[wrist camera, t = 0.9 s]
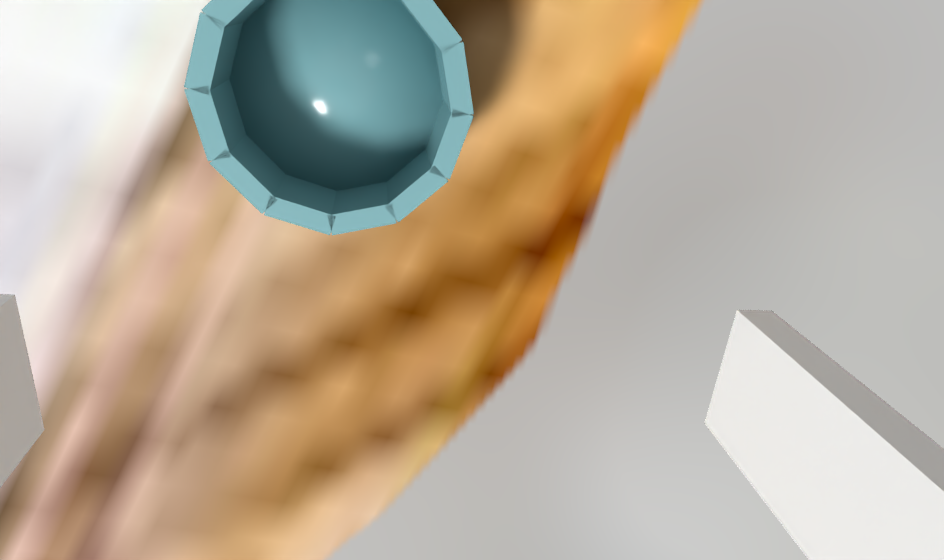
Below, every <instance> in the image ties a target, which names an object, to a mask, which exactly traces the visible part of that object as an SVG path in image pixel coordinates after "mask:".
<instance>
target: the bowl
mask: <svg viewBox="0 0 944 560" xmlns="http://www.w3.org/2000/svg"><path fill="white" fill-rule="evenodd" d="M202 11H203V12H200V15H199V20H198V25H197V29H196V34H195V39H194V43H193V48H192V53H191V57H190V62H189V67H188V71H187V76H186V81H185V85H184V87H186V88H187V89H185V93H186V96H187V99H188V102H189V105H190V108H191V111H192V114H193V117H194V120H195V123H196V126H197V129H198V132H199V135H200V138H201V141H202V144H203V147H204V150H205V153H206V156H207V159H208V161H211V162H210V164H211V165H212V166H213V167H214V168H215V169H216V170H217V171H218V172H219V173H220V174H221V175H222V176H223V177H224V178H225V179H226V180H227V181H228V182H229V183H231V184H232V185H233V186H234V187H235V188H236V189H237V190H238V191H239V192H240V193H241V194H242V195H243V196H244V197H245V198H246V199H247V200H248V201H249V202H250V203H251V204H252V205H253V206H254V207H256V208H257V209H258V210H259V211H260V212H261V213H263V212H265V214H264V215H266V216H269V217H272V218H276V219H279V220H282V221H285V222H289V223H292V224H295V225H298V226H302V227H305V228H308V229H312V230H315V231H318V232H321V233H325V234H328V235H330V233H331V232H332V235H336V234H342V233H347V232H352V231H358V230H363V229H368V228H374V227H379V226H384V225H390V224H395V223H396V220H397V221H398V222H399V221H401V220H402V219H403V218H404V217H405V216H407V215H408V214H409V213H410V212H412V211H413V210H414V209H415V208H416V207H418V206H419V205H420V204H421V203H422V202H424V201H425V200H426V199H427V198H428V197H430V196H431V195H432V194H433V193H435V192H436V191H437V190H438V189H439V188H441V187H442V186H443V185H444V184H445V183H447V182H448V179H450V177H451V174H452V172H453V169H454V166H455V164H456V161H457V159H458V156H459V153H460V151H461V148H462V145H463V143H464V140H465V138H466V135H467V132H468V130H469V127H470V124H471V122H472V119H473V115H472V114H474V112H473V105H472V98H471V91H470V84H469V77H468V70H467V63H466V56H465V50H464V43H463V42H462V41H461V40H462V38H461V37H460V36H459V34H458V33H457V32H456V30H455V29H454V28H453V26H452V25H451V24H450V22H449V21H448V20H447V18H446V17H445V16H444V14H443V13H442V12H441V10H440V9H439V8H438V6H437V5H436V4H435V2H434V1H433V0H211V1H210V2H209V3H208V4H207V5H206V6H205V7H204V8H203V9H202ZM447 178H448V179H447Z"/></svg>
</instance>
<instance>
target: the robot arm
mask: <svg viewBox="0 0 944 560" xmlns="http://www.w3.org/2000/svg"><path fill="white" fill-rule="evenodd" d="M705 424H706V426H707V427H708V428H709V430H710V431H711V432H712V433H713V435H714V436H715V438H716V439H717V440H718V441H719V442H720V444H721V445H722V447H723V448H724V449H725V451H726V452H727V453H728V454H729V456H730V457H731V458H732V460H733V461H734V462H735V464H736V465H737V466H738V468H739V469H740V470H741V472H742V473H743V474H744V476H745V477H746V478H747V479H748V481H749V482H750V483H751V485H752V486H753V487H754V488H755V490H756V491H757V492H758V494H759V495H760V496H761V498H762V499H763V500H764V502H765V503H766V504H767V506H768V507H769V508H770V510H771V511H772V512H773V513H774V515H775V516H776V517H777V519H778V520H779V521H780V523H781V524H782V525H783V527H784V528H785V529H786V531H787V532H788V533H789V534H790V536H791V537H792V538H793V540H794V541H795V542H796V544H797V545H798V546H799V548H800V549H801V550H802V552H803V553H804V554H805V555H806V557H807V558H808V559H809V560H944V448H942V447H941V446H940V445H938V444H937V443H936V442H935V441H934V440H932V439H931V438H930V437H929V436H927V435H926V434H925V433H924V432H922V431H921V430H920V429H919V428H917V427H916V426H915V425H914V424H912V423H911V422H910V421H909V420H907V419H906V418H905V417H904V416H902V415H901V414H900V413H898V412H897V411H896V410H895V409H894V408H892V407H891V406H890V405H889V404H887V403H886V402H885V401H884V400H882V399H881V398H880V397H879V396H877V395H876V394H875V393H874V392H872V391H871V390H870V389H869V388H868V387H866V386H865V385H864V384H863V383H861V382H860V381H859V380H857V379H856V378H855V377H854V376H853V375H851V374H850V373H849V372H847V371H846V370H845V369H844V368H842V367H841V366H840V365H839V364H838V363H836V362H835V361H834V360H832V359H831V358H830V357H829V356H828V355H826V354H825V353H824V352H823V351H821V350H820V349H819V348H818V347H816V346H815V345H814V344H813V343H811V342H810V341H809V340H808V339H806V338H805V337H804V336H803V335H801V334H800V333H799V332H798V331H796V330H795V329H794V328H793V327H791V326H790V325H789V324H788V323H787V322H785V321H784V320H783V319H781V318H780V317H779V316H778V315H777V314H775V313H774V312H773V311H760V310H759V311H758V310H737V312H736V316H735V319H734V323H733V326H732V329H731V333H730V336H729V340H728V343H727V347H726V350H725V354H724V357H723V361H722V364H721V368H720V371H719V375H718V378H717V382H716V385H715V389H714V392H713V395H712V399H711V402H710V406H709V409H708V413H707V416H706V420H705ZM43 431H44V426H43V421H42V416H41V412H40V407H39V403H38V398H37V394H36V389H35V385H34V380H33V375H32V371H31V366H30V362H29V357H28V353H27V348H26V344H25V339H24V335H23V330H22V325H21V321H20V316H19V312H18V307H17V303H16V298H15V295H3V294H0V487H1V486H2V485H3V483H4V482H5V481H6V480H7V478H8V477H9V476H10V474H11V473H12V472H13V470H14V469H15V468H16V466H17V465H18V464H19V462H20V461H21V460H22V459H23V457H24V456H25V455H26V453H27V452H28V451H29V449H30V448H31V447H32V445H33V444H34V443H35V441H36V440H37V439H38V438H39V436H40V435H41V434H42V432H43Z"/></svg>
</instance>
